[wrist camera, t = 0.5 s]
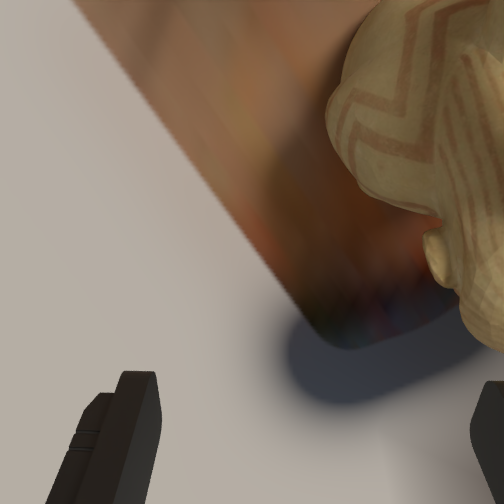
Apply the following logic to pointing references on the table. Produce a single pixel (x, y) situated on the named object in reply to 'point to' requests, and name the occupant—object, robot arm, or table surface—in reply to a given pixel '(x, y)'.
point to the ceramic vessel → (434, 137)
